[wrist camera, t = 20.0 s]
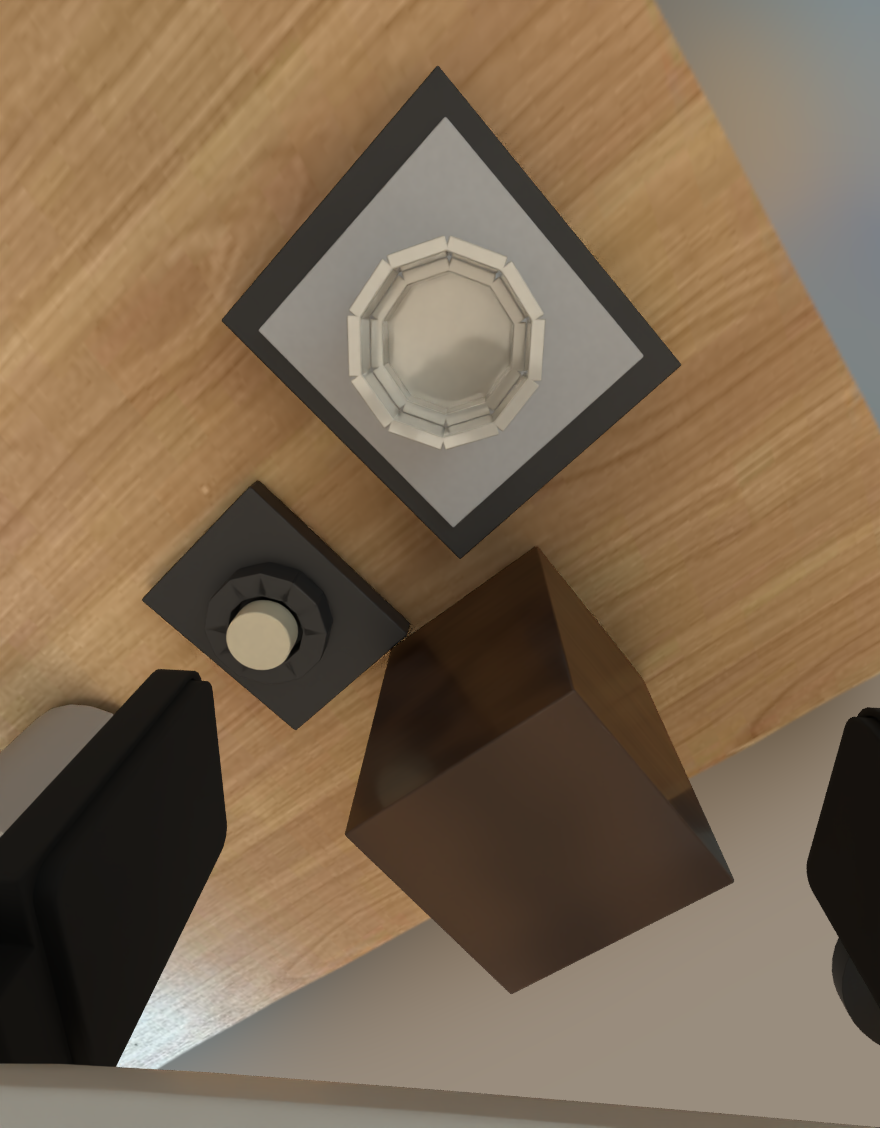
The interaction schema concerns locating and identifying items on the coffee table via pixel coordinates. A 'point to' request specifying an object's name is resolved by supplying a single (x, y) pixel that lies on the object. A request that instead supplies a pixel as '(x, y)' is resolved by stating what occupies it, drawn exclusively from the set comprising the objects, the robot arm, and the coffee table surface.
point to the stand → (528, 782)
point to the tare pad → (291, 578)
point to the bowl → (445, 342)
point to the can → (43, 755)
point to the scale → (485, 218)
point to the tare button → (262, 635)
